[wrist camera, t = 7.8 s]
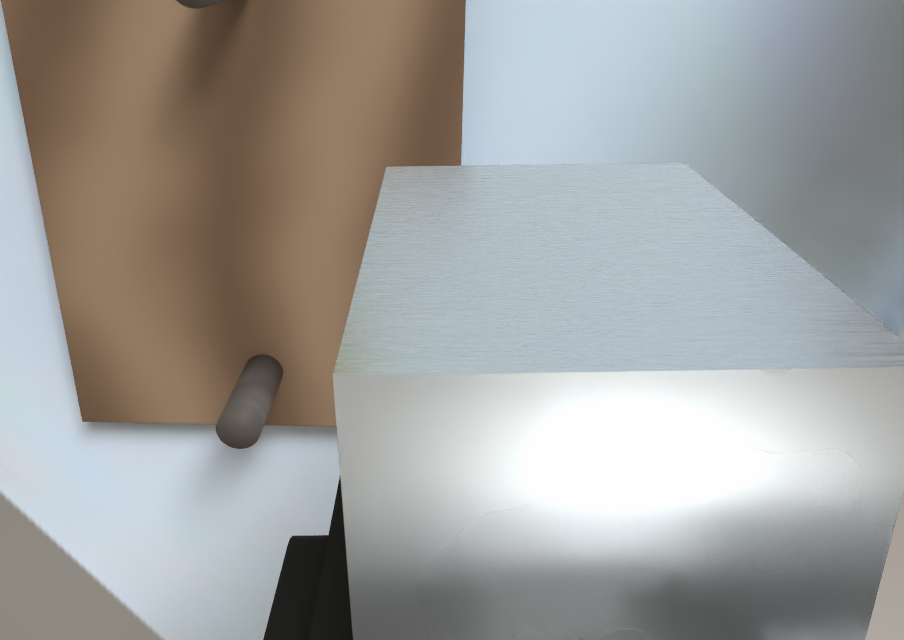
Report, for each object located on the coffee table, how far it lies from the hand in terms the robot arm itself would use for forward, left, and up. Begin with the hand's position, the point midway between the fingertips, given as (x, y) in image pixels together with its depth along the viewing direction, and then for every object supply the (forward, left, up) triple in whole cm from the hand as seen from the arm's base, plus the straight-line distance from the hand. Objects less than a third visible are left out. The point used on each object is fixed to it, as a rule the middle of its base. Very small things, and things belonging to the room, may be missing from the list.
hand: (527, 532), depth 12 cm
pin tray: (+8, 0, -18) cm, 19 cm away
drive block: (0, 0, -1) cm, 1 cm away
